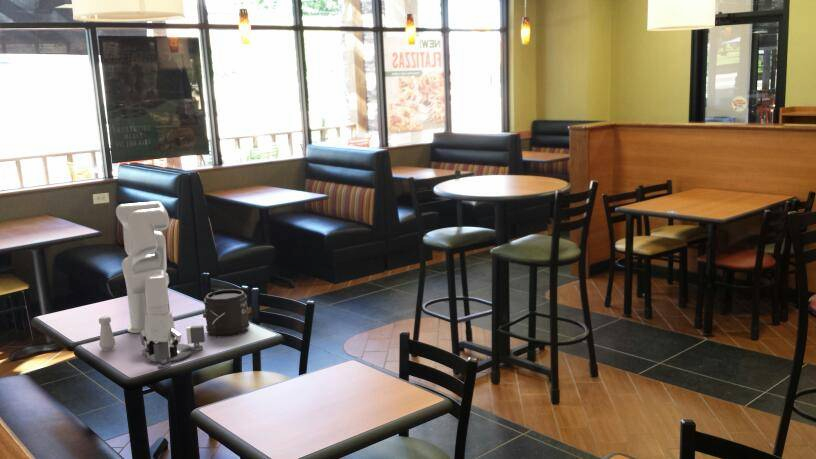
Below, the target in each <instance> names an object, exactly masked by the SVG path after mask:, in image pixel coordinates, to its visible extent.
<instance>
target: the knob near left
mask: <svg viewBox="0 0 816 459" xmlns="http://www.w3.org/2000/svg"><path fill="white" fill-rule="evenodd" d="M204 326H205V325H204V324H203V325H192V326H191V325H190V326H189V325H188V326H187V327H186V328H185V330H186V338H187V345H189V344H193V346H194V347H199V345H200V343H201V344H202V343H205V341H206V340H205V339H206V338H205V328H204Z"/></svg>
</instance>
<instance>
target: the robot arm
mask: <svg viewBox="0 0 816 459" xmlns="http://www.w3.org/2000/svg"><path fill="white" fill-rule="evenodd" d="M115 215H116V218H117V219H118V221H119V222H120V223H121V225H122V228H123V244H124V250H125V253H126V254H127V255H128V256H126V257H125V258H124V259H123V260H122V262H121V268H122V272H123V277H124V280H125V286H126V294H127V295H126V296H127V302H128V311H129V312H128V313H129V319H130V325H129V326H128V327H127V332H128V333H132V334H140V329H144V328H145V330H143V331H141V334H142V336H143V338H144V340H145V341H146V344H147V345H148V351H149V355H153V354H154V345H153V344H156V343H158V342H168V344H169V345H170V346H171V347H169V350H170V357H171V358H173V357H175V356H177V355H178V353H177V345H178V344H180V342H181V339H182V334H181V333H179V332H178V331H176V327H175V321H174V318H173V315H172V312H171V310H170V301H169V290H168V285H169V283H170V277H169V274H168V272H167V266H168V265H167V263H168V262H167V243H166V238H165V235H164V233H163V232H162V231H163V230H167V229H168V228H169V226H170V217H169V213H168V211H167V209H166V208H165V206H164V204H163V203H162V202H160V201H156V200H155V201H144V202H133V203H121V204H119V205H118V206H116V209H115ZM171 340H172V341H173V343H172V341H171Z"/></svg>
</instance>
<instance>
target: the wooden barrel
mask: <svg viewBox="0 0 816 459" xmlns="http://www.w3.org/2000/svg"><path fill="white" fill-rule="evenodd" d="M247 300H248V297H247V294H246V293H245V292H244V290H242V289H235V288H230V289H228V288H227V289H220V290H215V291H213V292H211V291H210V293H206V295H205V297H204V298H203V304H204V313H202V318H205V322H206V325H205V329H206V332H207V333H208V334H209V336H212V337H216V338H226V337H227V338H229V337H234V336H238V335H242V334H244V333H245V332H247V331H248V328H249V327H250V324H251V323H250V322H249V308H248V307H249V306H248V303H247Z"/></svg>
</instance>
